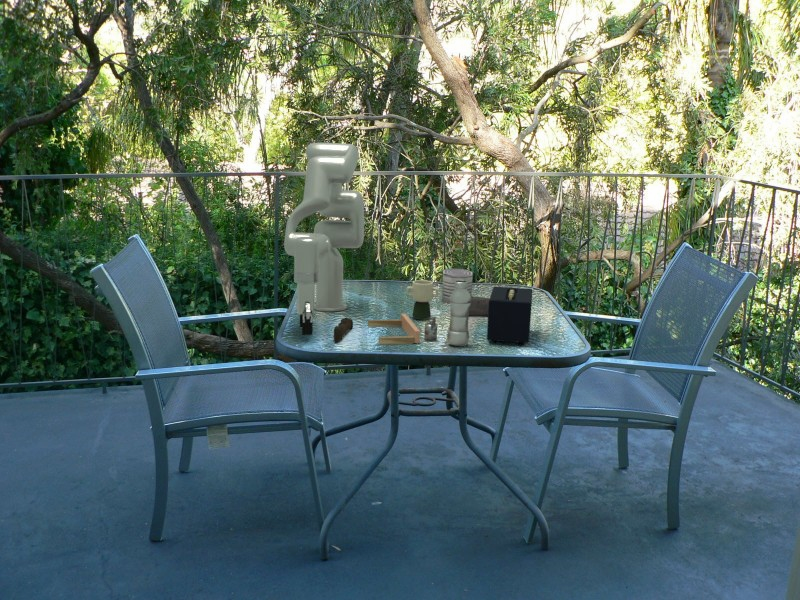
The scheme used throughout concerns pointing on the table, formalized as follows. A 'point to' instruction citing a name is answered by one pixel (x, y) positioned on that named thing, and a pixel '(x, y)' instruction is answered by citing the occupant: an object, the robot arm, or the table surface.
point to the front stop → (410, 328)
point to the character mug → (422, 297)
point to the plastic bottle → (459, 314)
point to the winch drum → (431, 330)
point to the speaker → (509, 315)
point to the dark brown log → (342, 329)
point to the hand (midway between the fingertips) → (305, 330)
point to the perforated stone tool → (479, 306)
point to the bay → (391, 339)
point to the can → (450, 279)
